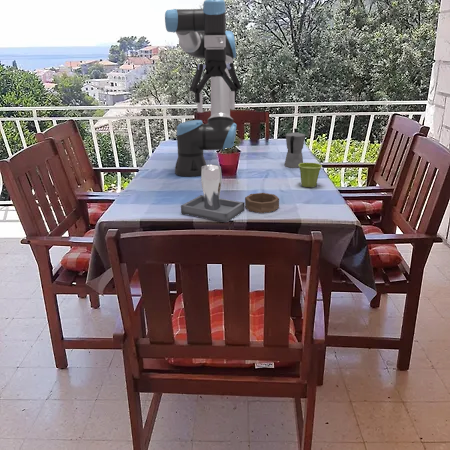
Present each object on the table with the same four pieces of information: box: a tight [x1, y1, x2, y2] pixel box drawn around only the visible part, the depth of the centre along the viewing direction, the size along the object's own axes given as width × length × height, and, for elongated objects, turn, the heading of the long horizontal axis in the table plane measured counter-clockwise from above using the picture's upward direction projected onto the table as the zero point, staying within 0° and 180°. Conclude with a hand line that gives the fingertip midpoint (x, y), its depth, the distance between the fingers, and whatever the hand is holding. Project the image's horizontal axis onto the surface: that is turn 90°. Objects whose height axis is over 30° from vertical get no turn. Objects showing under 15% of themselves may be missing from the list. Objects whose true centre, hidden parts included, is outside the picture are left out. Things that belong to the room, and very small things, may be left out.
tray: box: [180, 194, 245, 223], centre depth 151 cm, size 18×13×3 cm
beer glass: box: [200, 164, 223, 211], centre depth 148 cm, size 7×7×15 cm
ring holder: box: [244, 192, 280, 214], centre depth 155 cm, size 11×11×4 cm
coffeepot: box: [284, 128, 306, 169], centre depth 205 cm, size 15×9×18 cm, turn 160°
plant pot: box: [298, 162, 323, 188], centre depth 177 cm, size 9×9×9 cm
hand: (216, 110), depth 160 cm, fingers open, 13 cm apart
